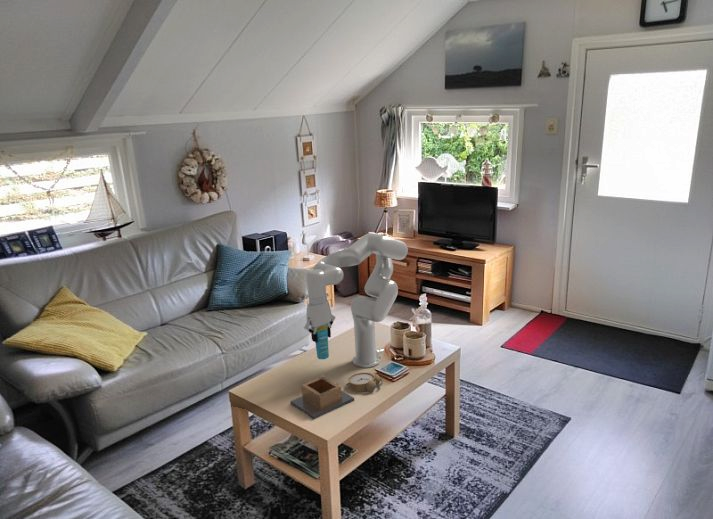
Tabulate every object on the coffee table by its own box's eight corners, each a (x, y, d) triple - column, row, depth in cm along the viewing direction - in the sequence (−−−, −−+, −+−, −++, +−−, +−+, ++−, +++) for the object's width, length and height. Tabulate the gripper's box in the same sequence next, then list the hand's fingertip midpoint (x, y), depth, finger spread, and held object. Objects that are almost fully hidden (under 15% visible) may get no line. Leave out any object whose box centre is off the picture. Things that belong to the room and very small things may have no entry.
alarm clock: (354, 371, 241) (385, 371, 234) (356, 381, 242) (388, 381, 235) (343, 383, 231) (375, 383, 224) (345, 394, 232) (378, 394, 225)
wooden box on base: (330, 386, 234) (329, 371, 232) (354, 400, 222) (353, 384, 220) (290, 403, 222) (289, 387, 220) (313, 419, 210) (312, 402, 208)
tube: (318, 361, 232) (314, 319, 226) (312, 357, 236) (308, 316, 230) (333, 356, 236) (329, 314, 230) (327, 352, 240) (323, 311, 234)
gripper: (329, 291, 236) (332, 330, 241) (295, 303, 226) (299, 343, 231) (339, 295, 230) (343, 335, 235) (305, 307, 220) (310, 348, 225)
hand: (321, 338), depth 233 cm, fingers closed on tube, 6 cm apart
